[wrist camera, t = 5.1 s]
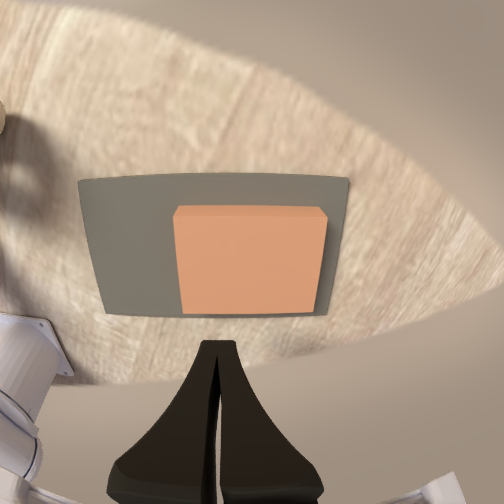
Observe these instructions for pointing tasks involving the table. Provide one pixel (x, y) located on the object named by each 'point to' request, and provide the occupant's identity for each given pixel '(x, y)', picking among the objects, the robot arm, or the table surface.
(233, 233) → the tile
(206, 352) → the robot arm
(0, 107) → the donut
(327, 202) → the mat
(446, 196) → the table surface
